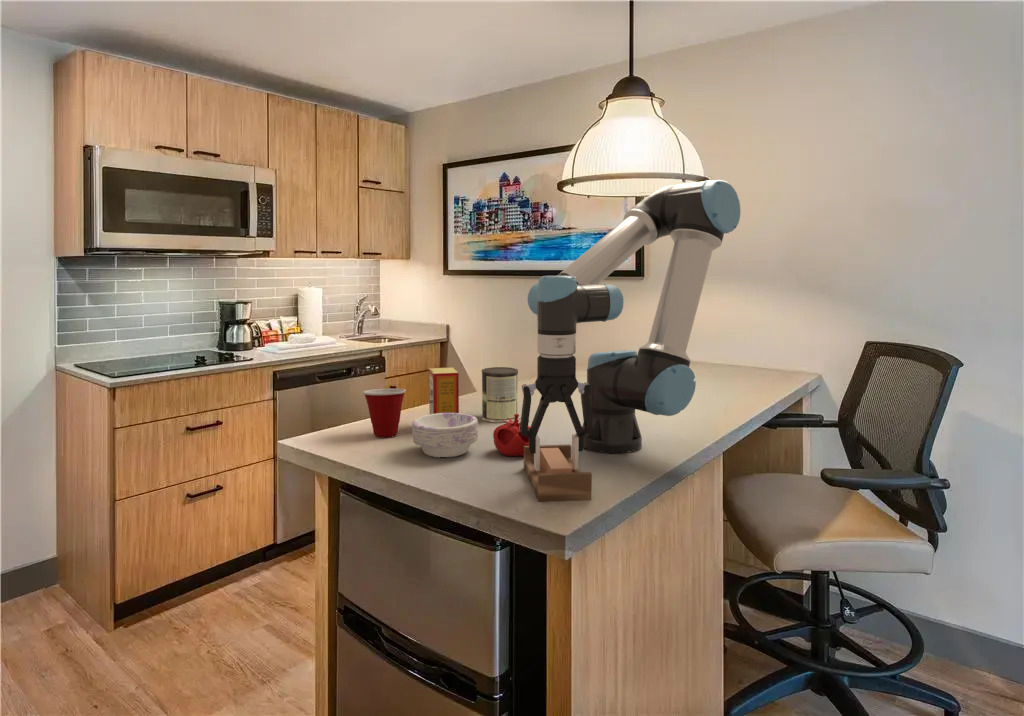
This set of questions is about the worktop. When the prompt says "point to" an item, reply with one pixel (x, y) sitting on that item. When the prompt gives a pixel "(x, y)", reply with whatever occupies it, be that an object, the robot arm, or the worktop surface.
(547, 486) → the wooden crate tray
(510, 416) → the coffee can
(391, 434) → the plastic cup
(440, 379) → the baking soda box
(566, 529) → the worktop surface
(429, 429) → the paper bowls
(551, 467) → the orange rectangular block
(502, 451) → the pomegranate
